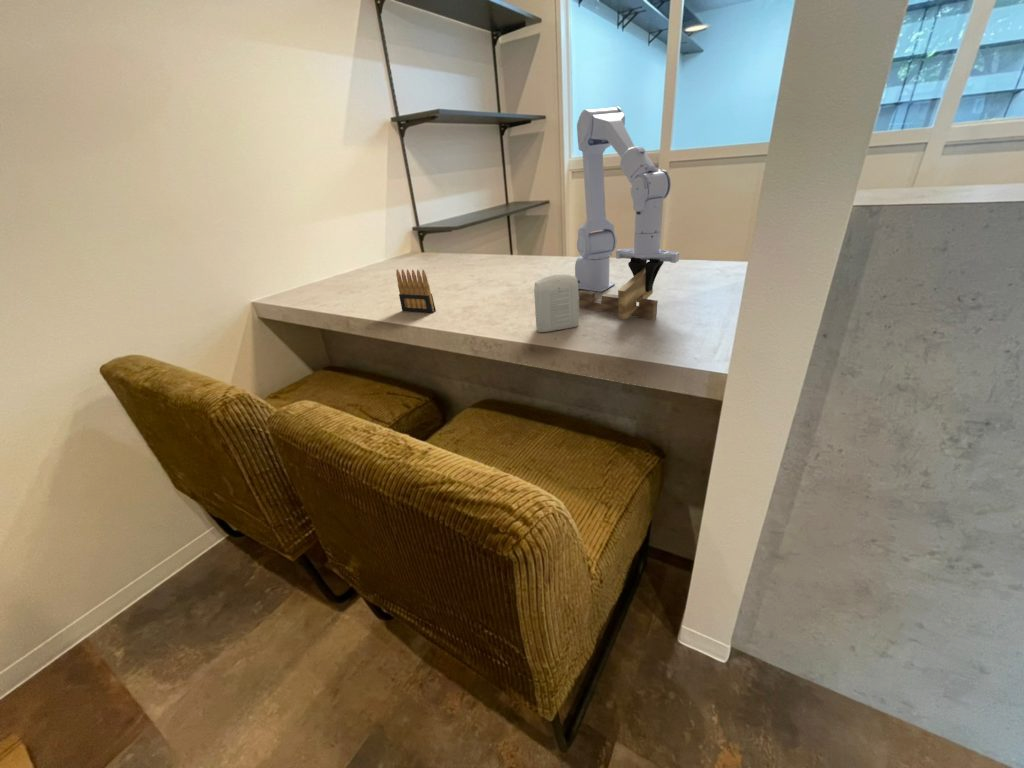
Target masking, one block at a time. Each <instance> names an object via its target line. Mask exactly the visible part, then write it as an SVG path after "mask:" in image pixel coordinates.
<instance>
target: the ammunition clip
mask: <svg viewBox="0 0 1024 768" xmlns="http://www.w3.org/2000/svg"><path fill="white" fill-rule="evenodd" d="M395 271H396V281H397V288H398V293H399V294H398V297H399V301H400V306H401V311H402V312H407V313H419V312H420V313H421V314H422V313H423V314H433V313H435V312H436V311H437V310H436V306H435V301H434V297H433V294H432V291H431V287H430V284H429V280H428V277H427V273H426V272H425V270H424V269H422V272H420V270H419V269H417V270H416V272H415V270H414V269H412V270H411V272H410V270H409V269H406V273H405V271H404V269H401V271H399V269H396V270H395ZM400 272H401V273H400Z"/></svg>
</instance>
